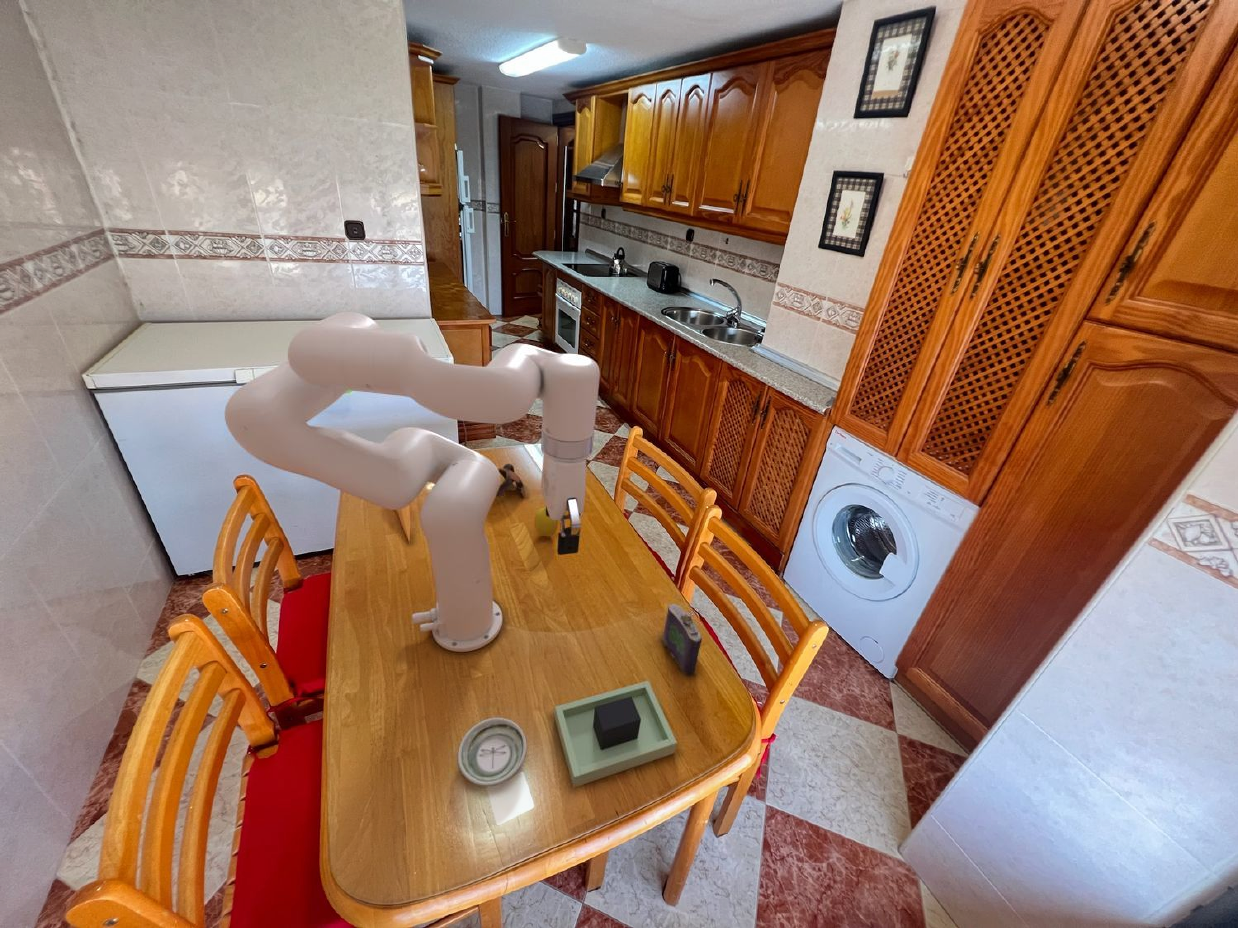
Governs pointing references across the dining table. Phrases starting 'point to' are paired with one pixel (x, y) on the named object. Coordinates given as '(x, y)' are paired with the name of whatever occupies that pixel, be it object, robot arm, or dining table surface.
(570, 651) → the dining table surface
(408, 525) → the carrot
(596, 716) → the black rectangular block
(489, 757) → the saucer
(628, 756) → the green rectangular tray
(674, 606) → the flask
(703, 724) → the dining table surface
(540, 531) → the lemon
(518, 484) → the brown curved loop piece
